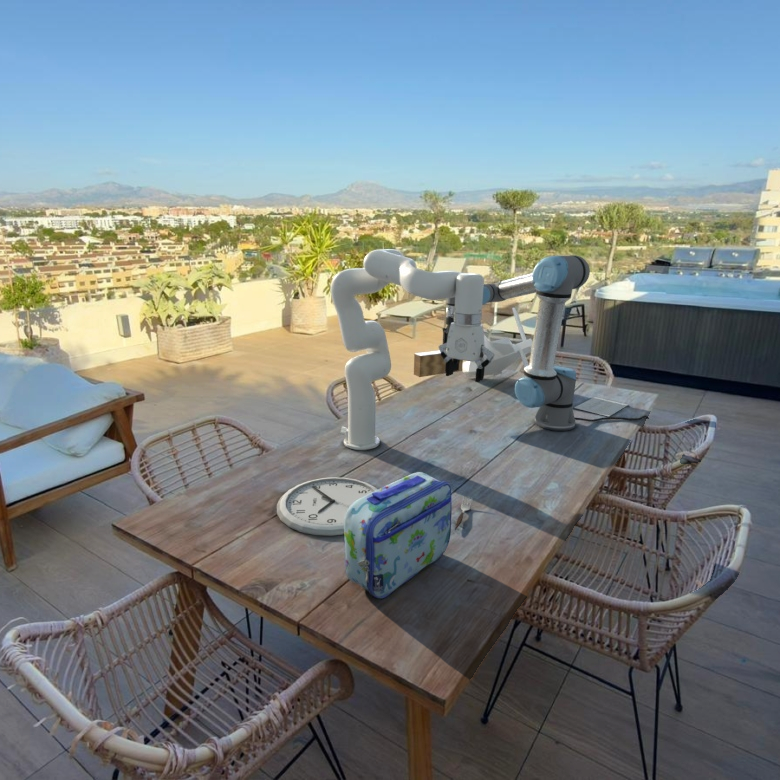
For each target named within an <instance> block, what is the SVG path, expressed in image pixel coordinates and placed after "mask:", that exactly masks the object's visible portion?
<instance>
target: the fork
mask: <svg viewBox="0 0 780 780" xmlns="http://www.w3.org/2000/svg"><path fill="white" fill-rule="evenodd" d="M465 497H466V495H464V496H463V499H462V502H461V505H460V510H461V511H462V512H461V513H460V514H459V516H458V517H457V520H456V524H455V527H454V531H457V529H458V527H459V526H460V524H461V523H462V521H463V518H464V515H465V514H464V513H465V512H467V511H470V510H471V508H472V501H473V498H471V496H468V497H466V498H465ZM470 498H471V499H470ZM467 499H468V500H467Z"/></svg>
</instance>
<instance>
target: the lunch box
mask: <svg viewBox="0 0 780 780" xmlns="http://www.w3.org/2000/svg"><path fill="white" fill-rule="evenodd" d="M377 489H378V490H376V491H374V492H372V493H370V494H368V495H366V496H364V497H362V498H360V499H358V500H356V501H355V502H354V503H353V504H352V505H351V506H350V507H349V509H348V511H347V513H346V516H345V520H344V534H343V536H344V537H343V539H344V555H345V556H344V565H345V572H346V576H347V579H348V580H349V581H351V582H353V583H354V584H357V585H359V586H360V587H362V588H363V589H365V590H366V591H368V593H369V594H370V596H373V597H374V598H376V599H385V598H387V597H388V596H390V595H391V594H392V593H393V592H394V591H396V590H397V589H398V588H399V587H400V586H402V585H403V584H405V583H407V582H408V581H409V580H410V579H412V578H414V576H416V575H417V574H418V573H419V572H420V571H421V570H423V569H424V568H426V567H427V566H429V565H431V564H433V563H435V562H436V561H437V560H439V559H440V558H441V557H442V556H443V554H445V552H446V550H447V548H448V546H449V543H450V540H451V535H452V534H451V533H452V515H453V514H452V511H453V510H452V509H453V508H452V507H453V505H452V487H451V484H450V483H449V482H448V481H445V480H438V479H436V478H434V477H432V476H431V475H429V474H427V473H424V472H422V471H417V472H414V473H411V474H409V475H407V476H404V477H401V478H399V479H397V480H395V481H393V482H391V483H388V484H386V485H385V486H383V487H380V488H377Z"/></svg>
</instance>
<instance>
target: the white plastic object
mask: <svg viewBox="0 0 780 780" xmlns="http://www.w3.org/2000/svg"><path fill="white" fill-rule="evenodd" d="M511 310H512V314H513V316H514V319H515V322H516V325H517V328H518V331H519V334H520V338H521V341H520V342H517V343H513V342H512V341H511V339H510V338H509V337H505V338H500V339H495V340H490V339H489V338H488V337H487V336H486V334H484V347H485V348H487V349H488V350H489V351H491V352H492V353H493V354H494V357H493V359H492V360H491V363H489V364H488V365H487V366H486V367H485V369H484V377H485V376H493V377H495V376H498V375H502V374H503V371H504V370H505V369H507V368H509V367H510V366H511V365H512V364H515V362H517V361H518V360H520V359H521V361H522V364H523V367H524V368H525V367H526V366H528V365H529V362H528V358H527V355H528V354H531V350H532V344H533V338H530V337H529V338H527V337H526V334H525V331H524V327H523V325H522V322H521V318H520V315H519V313H518V311H517V309H516V307H512V308H511ZM486 358H487V356H486V355H485V354H484V356H483V360H484V361H485V360H486ZM477 368H478V366H477V365H476V363H475V361H474V362H470V361H463V367H462V373H463V374H464V376H465V377H466V378H476V369H477Z"/></svg>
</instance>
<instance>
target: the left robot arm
mask: <svg viewBox="0 0 780 780" xmlns="http://www.w3.org/2000/svg"><path fill="white" fill-rule="evenodd" d="M362 265H363V267H360V268H359V267H357V268H347V269H343V270H341V271H339V272H337V273H336V274H335V275H334V277H333V278H332V279H331V283H330V296H331V300H332V303H333V306H334V308H335V312H336V315H337V320H338V325H339V330H340V334H341V339H342V343H343V346H344V348H345V349H346V350H347V351H348V352H350V353H357V352H362V351H366V353H363V354H359V355H356V356H354V357H352V358H350V359H349V360H348V361H347V362H346V364H345V366H344V376H345V381H346V386H347V424H348V425H347V427H346V426H341V428H340V431H339V434H340V435H343V436H345V438H344V439H343V445H344V447H347V449H351V450H355V451H367V450H372V449H376V448H377V447H378V446H380V442H381V440H380V438H379V437H378V436H376V413H377V411H376V409H377V407H376V405H377V403H376V401H377V400H376V399H377V398H376V397H377V395H376V391H375V388H374V387H373V384H372V382H374V381H377V380H380V379H383V378H385V377H387V376H388V375H389V374H390V373H391V370H392V360H391V354H390V349H389V343H388V340H387V335H386V332H385V329H384V327H383V326H382V325H381V324H380V323H379V322H378V321H375V320H365V316H364V311H363V309H362V306H361V304H360V302H359V301H358V300H357V299H356V298H355V297H356V296H362V295H370V294H375V293H377V292H379V291H381V290H383V289H384V288H386V286H388V285H389V284H390V283H391V284H393V285H397V286H399V287H401V288H402V290H404V291H405V292H407V293H409V294H411V295H413V296H415V297H419V298H421V299H425V300H430V301H439V300H444V299H447V298H453V297H455V311H454V313H451V315H450V316H451V318H454V322H453V323H451V325H450V329H449V333H448V339H447V343H445V344H443V343H442V344H439V345H438V351H439V350H440V352H441V356H442V357H443V359H444V362H446V367H445V372H446V373H445V376H446V377H450V376H452V375H454V372H453V369H454V362H453V361H452V360H453V359H459V360H463V361H464V362H466V361H470V362H474V361H475V363H476V365H477V366H478V368H477V369H476V377H475V383H480V382H482V381H483V380H484V378H485V376H484V369H485V367H486V366H487V365H488V364H489V363H491V360H492V359H493V357H494V354H493V353H492V352H491V351H489V350H488V349H487V348H485V347H484V335H485V330H484V329H485V328H484V325H483V324H482V316H483V305H482V302H483V287H484V284H485V279H484V277H483V275H482V274H480V273H471V272H470V273H468V272H467V273H464V272H460V271H457V270H456V271H455V270H443V271H428V270H426V269H422V268H418V265H417V263H416V262H415V260H414V259H413V258H410V257H407V256H405V255H404V254H403V253H402V252H401V251H399V250H397V249H395V248H394V249H393V248H388V249H384V248H383V249H374V250H371V251H370V252H368V253H367V254H366V255H365V257H364V259H363V264H362ZM446 347H447V348H446ZM445 348H446V350H445ZM484 354H485V355H486V356H487V358H486V360H485V361H484V360H483V356H484Z"/></svg>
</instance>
